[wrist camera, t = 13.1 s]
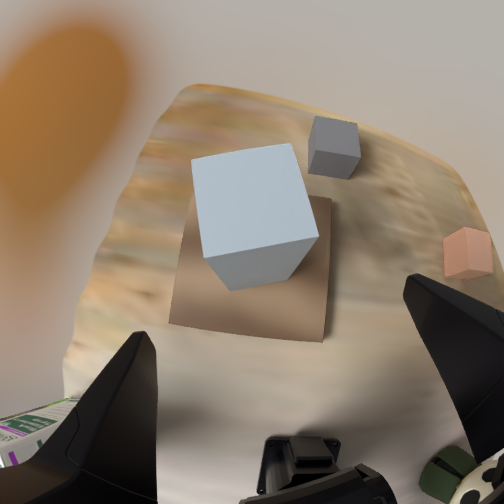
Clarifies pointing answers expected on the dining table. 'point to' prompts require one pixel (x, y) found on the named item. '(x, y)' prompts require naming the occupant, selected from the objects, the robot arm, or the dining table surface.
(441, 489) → the character mug
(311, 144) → the charcoal block
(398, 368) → the dining table surface
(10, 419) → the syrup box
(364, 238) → the dining table surface
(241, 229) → the slate block
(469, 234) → the terracotta block
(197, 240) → the walnut board
